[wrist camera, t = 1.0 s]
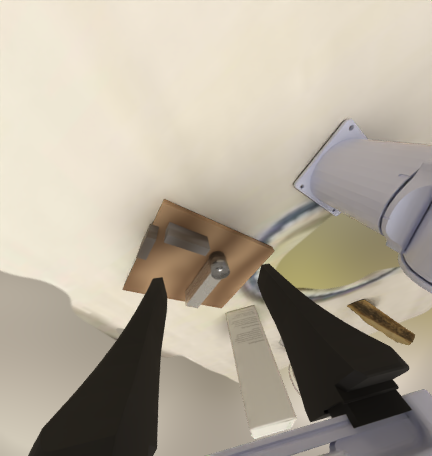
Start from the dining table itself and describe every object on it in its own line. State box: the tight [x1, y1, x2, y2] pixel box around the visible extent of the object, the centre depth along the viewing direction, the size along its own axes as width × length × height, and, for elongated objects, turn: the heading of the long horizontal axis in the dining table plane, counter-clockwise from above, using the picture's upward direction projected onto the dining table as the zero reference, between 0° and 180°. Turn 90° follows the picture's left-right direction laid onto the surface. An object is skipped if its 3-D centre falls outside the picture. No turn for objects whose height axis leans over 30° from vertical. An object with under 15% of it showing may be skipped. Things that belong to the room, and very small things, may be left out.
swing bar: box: [185, 251, 230, 308], centre depth 23 cm, size 9×2×3 cm, turn 149°
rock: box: [347, 300, 415, 345], centre depth 40 cm, size 11×9×10 cm
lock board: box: [123, 199, 275, 308], centre depth 23 cm, size 17×15×4 cm
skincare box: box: [226, 305, 297, 439], centre depth 29 cm, size 8×7×16 cm
